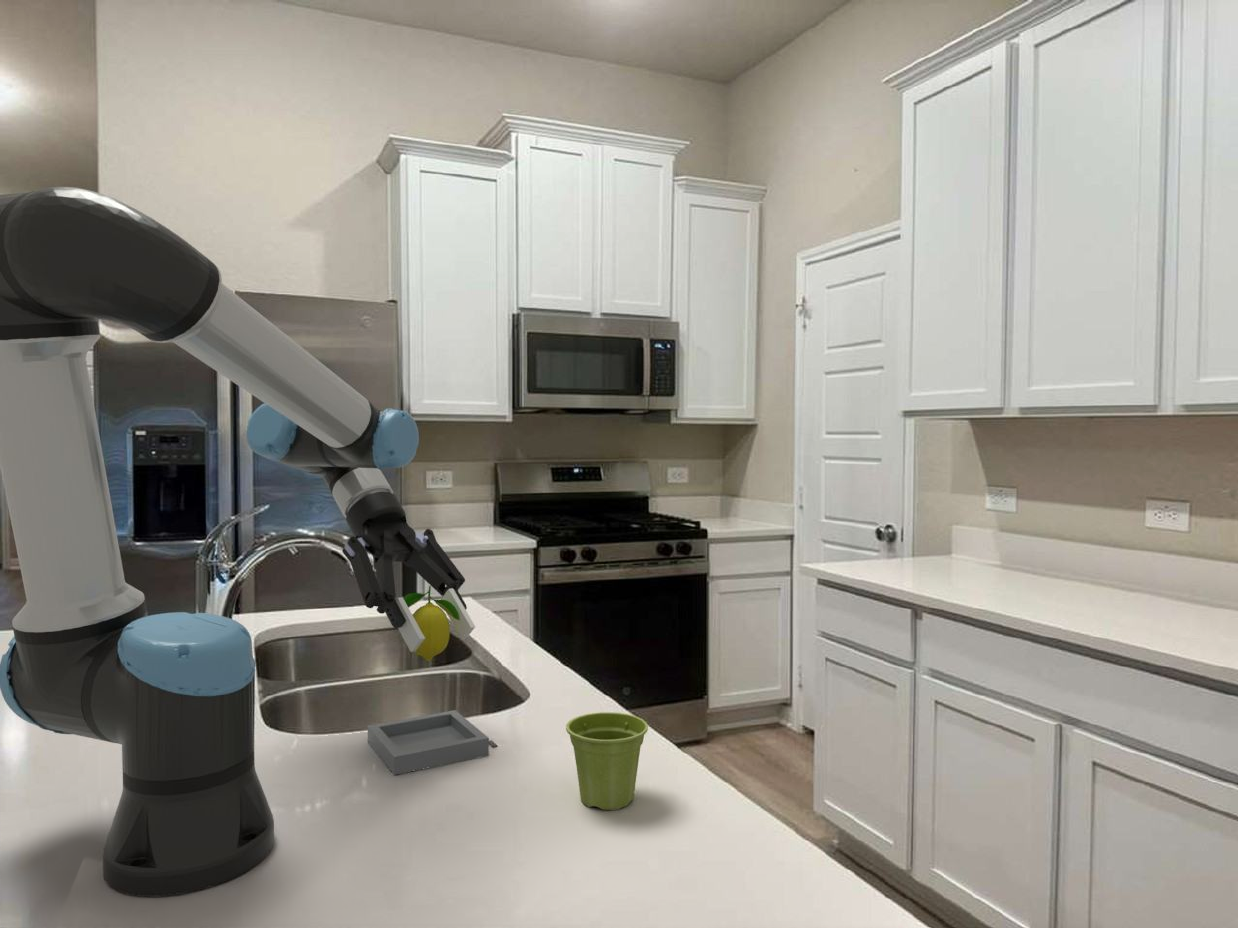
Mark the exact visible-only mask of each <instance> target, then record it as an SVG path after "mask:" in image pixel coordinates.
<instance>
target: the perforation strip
mask: <svg viewBox="0 0 1238 928" xmlns="http://www.w3.org/2000/svg"><path fill="white" fill-rule="evenodd" d="M482 733H483V734H485V733H484V732H482ZM489 744H490V745H491V746H492V747H491V746H490V745H489V746H490V747H491V748H497V747H498V743H497V744H496V742H494V741H493V740H489Z"/></svg>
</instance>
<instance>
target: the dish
mask: <svg viewBox="0 0 1238 928" xmlns="http://www.w3.org/2000/svg"><path fill="white" fill-rule="evenodd" d="M483 733H484V732H483V731H481V730H480V729H479V728H477V726H475V725H474V724H472V722H470V721H469V720H468V719H467V718H465V716H463V715H462V714H461V713H459V712H458V711H457V710H455V709H454V710H448V711H443V712H438V713H433V714H432V713H431V714H426V715H421V716H420V715H419V716H415V717H409V718H403V719H398V720H392V721H388V722H386V721H385V722H382V723H376V724H370V725H369V724H368V725H367V744H368V745H369V744H370V745H371V746H372V747H371V746H370V745H369V746H370V747H371V749H372V750H373V749H374V750H375V751H376V752H375V751H374V750H373V751H374V752H375V754H376V755H377V754H378V755H379V756H380V757H379V756H378V755H377V756H378V757H379V759H380V760H381V759H382V760H381V761H382V763H384V765H385V764H386V765H387V766H386V765H385V766H386V767H387V768H388V767H389V768H390V769H389V768H388V769H389V771H390V770H391V771H392V772H391V771H390V772H391V773H392V775H394V776H397V775H396V774H399V775H402V774H401V773H403V774H406V773H405V772H408V773H412V772H411V771H413V770H417V771H420V770H419V769H422V770H424V769H423V768H427V767H432V768H436V767H439V766H440V765H441V766H444V764H446V765H449V763H450V764H455V763H460V762H463V761H469V760H473V759H477V758H482V757H487V755H488V756H489V755H490V751H489V750H490V745H489V741H490V738H489V737H488V736H487V735H486V734H485V733H484V734H483ZM454 762H455V763H454ZM427 769H428V768H427ZM413 772H414V771H413Z"/></svg>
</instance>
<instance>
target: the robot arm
mask: <svg viewBox="0 0 1238 928" xmlns="http://www.w3.org/2000/svg"><path fill="white" fill-rule="evenodd" d="M98 320H104V321H108V322H113V323H114V324H115V323H116V324H117V325H122V326H125V327H127V328H130V329H132V330H133V331H136V332H138V333H139V335H142V337H143V336H144V337H145V338H146V339H148V340H150V341H151V342H154V343H159V344H164V343H165V344H166V343H171V342H172V343H174V344H175V345H177V346H178V347H180V348H181V349H182V350H184V351H186V352H187V353H189V354H190V355H191V356H193V357H195V358H196V359H198V360H199V361H201V362H202V363H204V364H205V365H207V366H208V367H210V368H211V369H213V370H214V371H215V372H217V373H219V374H220V375H222V376H223V377H224V378H226V379H228V380H229V381H231V382H232V383H234V384H235V385H237V386H239V388H242V389H243V390H244V391H246V392H247V393H249V394H251V395H252V396H253V397H255V398H256V399H258V400H260V401H261V402H262V404H261V405H259V406H258V407H257V408H256V409H255V410H254V411H253V413H252V414H251V416H250V417H249V419H248V422H247V426H246V430H245V432H246V433H245V436H246V441H247V444H248V446H249V448H250V449H251V450H252V452H253V453H255V454H257V455H259V456H261V457H263V458H266V459H267V460H269V461H270V462H273V463H274V462H277V463H279V464H282V465H285V466H289V467H291V468H294V469H298V470H300V471H303V472H304V471H305V472H307V473H310V474H313V475H315V476H318V477H321V478H322V479H323V480H324V481H323V482H325V484H326V486H327V488H328V490H329V491H330V493H331V495H332V497H333V498H334V501H335V502H336V504H337V507H338V508H339V510H340V512H341V514H342V516H343V517H344V518H345V520H346V521H345V522H346V524H347V525H348V527H349V529H350V531H351V532H352V535H353V536H350V537H349V539H348V540H347V541H346V543H345V545H344V546H343V548H342V554H343V555H344V556H345V558H346V559H347V561H349V563H350V565H351V568H352V571H353V575H354V576H355V579H356V582H357V586H358V588H359V591H360V594H361V597H362V600H363V603H364V605H365V607H366V608H368V609H373V608H374V607H376V611H377V613H379V614H381V615H382V614H385V615H386V617H387V618H388V621H389V623H390V624H391V626H392V627H393V628H394V629H398V631H399V633H400V634H401V636H402V638H403V640H404V643H406V646H407V647H408V649H409V651H410V652H411V653H412V652H413V651H416V650H417V648H418V647H419V646H420V644H421V643H422V642H423V641H424V639H425V637H424V635H423V633H422V632H421V630H420V628H419V626H418V624H417V622H416V621H415V619H414V617H413V614H412V612H411V610H410V607H409V608H408V606H407V604H406V602H405V601H404V599H403V597H404V596H401V597H397V598H396V596H397V595H396V584H395V577H394V576H395V575H394V565H393V563H395V562H401V563H402V564H404V565H405V566H406V567H407V568H412V570H414V571H415V572H416V573H417V575H419V576H420V577H421V578H422V579H424V581H425V582H427V584H429V586H431V588H433V589H434V590H435V591H436V592H437V593H438V594H439V595H440V596H441V598H440V600H446V601H449V602H450V603H451V604H452V605H453V606H454V607H455V608H456V610H457V612H458V614H459V619H460V620H457V619H455V618H454V617H452V616H450V615H449V614H448V613H447V612H445V614H446V616H447V618H448V619H449V620H450V623H451V624H452V626H453V628H454V629H455V631H456V632H457V634H458V636H459V638H460V639H461V640H466V639H467V638H468V637H469V635H470V634H471V633H472V632H473V630H474V629H475V628H476V625H475V624H474V621H473V620H472V618H471V617H470V615H469V614H468V611H467V608H468V607H467V604H466V603H465V601H464V598H463V597H462V596H461V593H460V592H459V590H460V588H461V587H462V586H463V585H464V583H466V578H465V577H464V575H463V574H462V573H461V571H460V570H459V569H458V568H457V566H456V565H455V564H454V563H453V561H452V560H451V559H450V557H449V556H448V554H447V553H446V552H445V550H444V549H443V547H441V545H440V544H439V543H438V541H437V539H436V536H435V533H434V531H433V530H432V529H430V528H426V529H425V531H424V532H418V531H417V532H416V531H415V529H413V528H412V527H411V526H410V525H409V524H408V523H407V521H408V520H407V517H406V516H407V514H406V512H405V509H404V508H403V506H402V505H401V503H400V501H399V499H398V497H397V496H396V495H395V494H394V490H393V489H392V487H391V485H390V484H389V482H388V480H387V478H386V477H385V475H384V473H383V472H382V470H384V469H396V468H399V469H400V468H403V467H405V466H407V465H408V464H410V463H411V462H412V461H413V460H414V458H415V456H416V454H417V450H418V447H419V441H420V439H419V438H420V436H419V428H418V425H417V423H416V421H415V419H414V417H413V416H412V415H411V414H410V413H409V412H407V411H405V410H401V409H393V408H391V407H388V408H385V409H382V408H379V407H378V406H376V405H375V404H374V403H372V402H371V401H370V400H369V399H367V398H366V397H365V396H363V395H362V394H361V393H359V392H358V391H357V390H356V389H354V388H353V387H352V386H351V385H350V384H349V383H347V382H346V381H344V380H343V379H342V378H341V377H340V376H338V375H337V374H336V373H335V372H333V371H332V370H331V369H330V368H328V367H327V366H326V365H325V364H323V363H322V362H321V361H320V360H319V359H317V358H316V357H315V356H313V355H312V354H311V353H310V352H309V351H307V350H306V349H305V348H303V346H301V345H299V344H298V343H297V342H296V341H295V340H293V339H292V338H291V337H290V336H289V335H287V334H286V333H285V332H283V330H281V329H280V328H279V327H277V326H276V325H275V324H273V323H272V322H271V321H270V320H269V319H267V318H266V317H265V316H263V315H262V314H261V313H260V312H259V311H257V310H256V309H255V308H254V307H252V305H250V304H249V303H247V301H245V300H243V299H242V298H241V297H240V296H238V295H237V293H235V292H234V291H233V290H231V289H230V288H229V287H227V286H226V285H225V284H224V283H223V277H222V274H221V271H220V268H219V267H218V266H217V264H215V263H214V262H213V261H212V260H211V259H209V258H208V257H206V256H205V255H204V254H203V253H202V252H200V251H199V250H198V249H197V248H195V247H194V246H193V245H192V244H190V243H189V242H188V241H187V240H185V239H184V238H182V236H180V235H178V234H176V233H175V232H174V231H172V230H171V229H170V228H168V227H167V226H165V225H163V224H162V223H160V222H159V221H157V220H155V219H154V218H152V217H150V216H149V215H147V214H145V213H143V212H141V211H139V210H138V209H137V208H134V207H132V206H131V205H128V204H126V203H124V202H122V201H120V200H118V199H116V198H114V197H111V196H108V195H105V194H102V193H99V192H97V191H95V190H90V189H85V188H81V187H74V186H52V187H45V188H41V189H36V190H32V191H31V190H29V191H22V192H15V193H14V192H13V193H5V194H0V473H1V477H2V483H3V489H4V493H5V497H6V503H7V508H8V512H9V518H10V524H11V527H12V532H13V533H12V534H13V538H14V543H15V548H16V553H17V558H18V564H19V569H20V573H21V578H22V582H23V589H24V593H25V598H26V602H25V604H24V605H23V607H22V608H21V609H20V610H19V611H18V612H17V613H16V615H15V616H14V617H13V619H12V621H11V622H12V623H11V624H12V631H13V635H14V636H13V637H12V638H11V639H10V641H9V642H8V647H9V648H8V650H7V651H6V652H5V653H4V654H2V655H1V659H0V693H1V694H2V695H1V696H2V699H3V700H4V702H5V703H6V705H7V706H8V708H9V709H10V711H12V712H13V713H14V714H15V715H16V717H19V718H20V719H22V720H23V721H25V722H27V723H29V724H32V725H35V726H37V727H38V728H40V729H41V730H42V729H43V730H44V731H45V730H46V731H48V732H53V733H55V734H61V735H75V736H79V737H84V738H89V739H93V740H98V741H103V742H107V743H113V744H118V745H121V757H122V758H121V763H122V766H121V767H122V768H121V769H122V793H121V795H120V799H119V802H118V804H117V807H116V811H115V814H114V815H113V816H114V817H113V819H112V823H111V825H110V829H109V830H108V831H109V832H108V834H107V837H106V841H105V844H104V847H103V851H102V878H103V881H104V882H105V883H106V885H107V886H108V887H109V888H111V889H113V890H114V891H117V892H119V893H122V894H126V895H131V896H138V897H139V896H140V897H141V896H142V897H162V896H163V897H164V896H165V897H166V896H173V895H178V894H179V895H181V894H185V893H190V892H195V891H199V890H203V889H206V888H210V887H213V886H216V885H219V884H222V883H225V882H227V881H229V880H232V879H233V878H236V877H238V876H240V875H242V874H244V873H246V872H247V871H249V870H251V869H253V868H254V867H256V866H257V865H258V864H260V863H261V861H263V860H264V859H265V858H267V856H268V855H269V853H270V852H271V851H272V849H273V847H274V843H275V822H274V819H275V818H274V814H273V812H272V809H271V806H270V805H269V802H268V800H267V797H266V794H265V792H264V789H263V787H262V784H261V782H260V779H259V776H258V773H257V772H256V766H255V713H256V712H255V703H256V699H255V698H256V696H255V695H256V694H255V691H256V689H255V688H256V685H255V684H256V683H255V682H256V677H255V674H256V661H255V657H254V655H253V641H252V640H253V639H252V637H251V634H250V632H249V631H248V629H247V628H246V627H245V626H244V624H242V623H240V622H239V621H237V620H235V619H233V618H230V617H228V616H223V615H219V614H215V613H208V612H196V613H189V612H186V611H185V612H184V611H182V612H181V611H180V612H177V611H176V612H165V613H159V614H157V613H156V614H152V615H148V610H147V604H146V597H145V594H144V592H143V591H141V590H139V589H137V588H136V587H134V586H132V585H131V584H129V583H127V582H126V580H125V573H124V568H123V562H122V557H121V556H122V555H121V551H120V546H119V539H118V534H117V529H116V528H117V527H116V524H115V523H116V522H115V517H114V511H113V506H112V499H111V495H110V489H109V488H110V487H109V482H108V478H107V476H108V475H107V471H106V466H105V461H104V454H103V449H102V443H101V438H100V432H99V431H100V430H99V425H98V421H97V415H96V408H95V403H94V397H93V391H92V387H91V380H90V375H89V368H88V364H87V362H88V361H87V355H88V352H89V351H90V350H91V349H92V348H93V347H94V346H95V345H96V343H97V342H98V341H99V340H100V338H101V334H100V328H99V322H98ZM368 553H369V554H368ZM369 555H371V556H372V560H373V566H372V563H371V561H370V560H371V559H370V557H369ZM374 570H375V572H376V573H375V572H374ZM413 653H414V652H413Z"/></svg>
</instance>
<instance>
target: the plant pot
mask: <svg viewBox="0 0 1238 928" xmlns="http://www.w3.org/2000/svg"><path fill="white" fill-rule="evenodd" d="M648 729H649V725H648V723H647V721H645V719H642V718H641V717H638V716H637V715H633V714H629V713H622V712H615V711H613V712H610V711H609V712H608V711H606V712H605V711H604V712H603V711H602V712H601V711H600V712H592V713H585V714H582V715H581V714H580V715H579V716H576V717H574V718H572V719H570V720H569V721H568V722H567V723H566V725H565V730H566V732H567V734H568V735H569V737H570V743H571V745H572V747H573V752H574V757H575V758H574V760H575V765H576V774H577V779H578V788H579V795H580V801H581V803H583V804H584V805H585V806H587V807H589V808H590V807H591V808H592V807H597V808H599V809H600V810H605V811H611V810H618V809H622V808H625V807H627V806H629V804H630V803H631V801H633V800H634V796H635V790H636V784H637V783H636V782H637V775H638V770H639V769H638V768H639V761H640V752H641V747H642V744H643V743H644V737H645V735H646V733H647V732H648Z"/></svg>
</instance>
